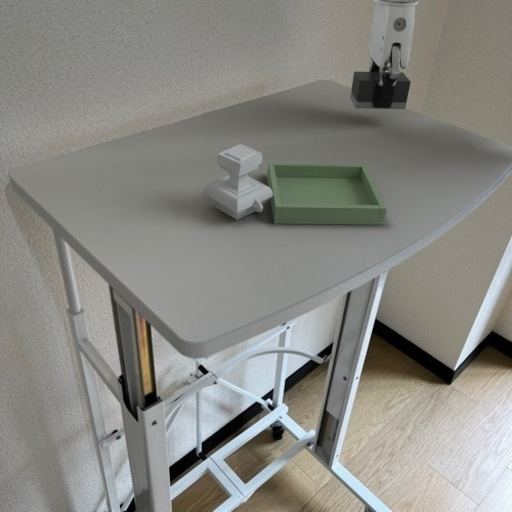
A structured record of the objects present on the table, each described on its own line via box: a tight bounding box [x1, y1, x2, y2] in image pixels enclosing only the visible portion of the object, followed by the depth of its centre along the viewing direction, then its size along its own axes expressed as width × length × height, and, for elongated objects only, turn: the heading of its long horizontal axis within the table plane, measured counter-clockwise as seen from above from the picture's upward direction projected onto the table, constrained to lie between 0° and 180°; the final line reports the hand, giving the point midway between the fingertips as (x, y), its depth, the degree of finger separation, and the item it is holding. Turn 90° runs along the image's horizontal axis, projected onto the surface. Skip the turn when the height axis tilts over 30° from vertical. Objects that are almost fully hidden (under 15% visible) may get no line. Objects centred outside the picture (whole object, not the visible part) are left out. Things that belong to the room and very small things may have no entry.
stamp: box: [202, 143, 273, 221], centre depth 72 cm, size 9×7×8 cm
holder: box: [266, 162, 387, 226], centre depth 77 cm, size 15×13×3 cm
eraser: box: [349, 70, 412, 110], centre depth 98 cm, size 9×5×5 cm, turn 93°
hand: (377, 100), depth 100 cm, fingers closed on eraser, 5 cm apart
